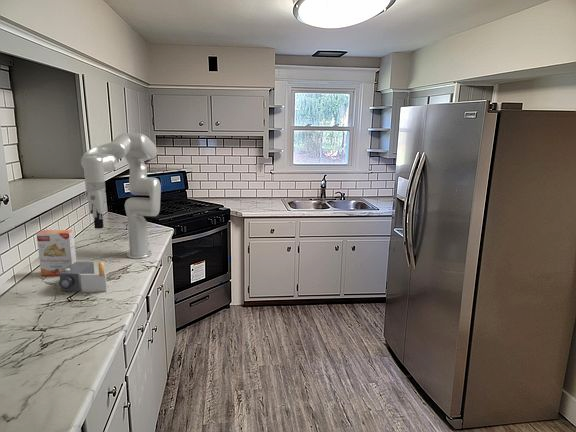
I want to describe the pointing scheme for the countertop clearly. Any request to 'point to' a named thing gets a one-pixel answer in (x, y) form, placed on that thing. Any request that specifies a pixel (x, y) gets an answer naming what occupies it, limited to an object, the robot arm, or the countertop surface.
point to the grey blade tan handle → (93, 280)
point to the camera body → (74, 275)
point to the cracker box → (55, 251)
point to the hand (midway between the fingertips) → (99, 227)
